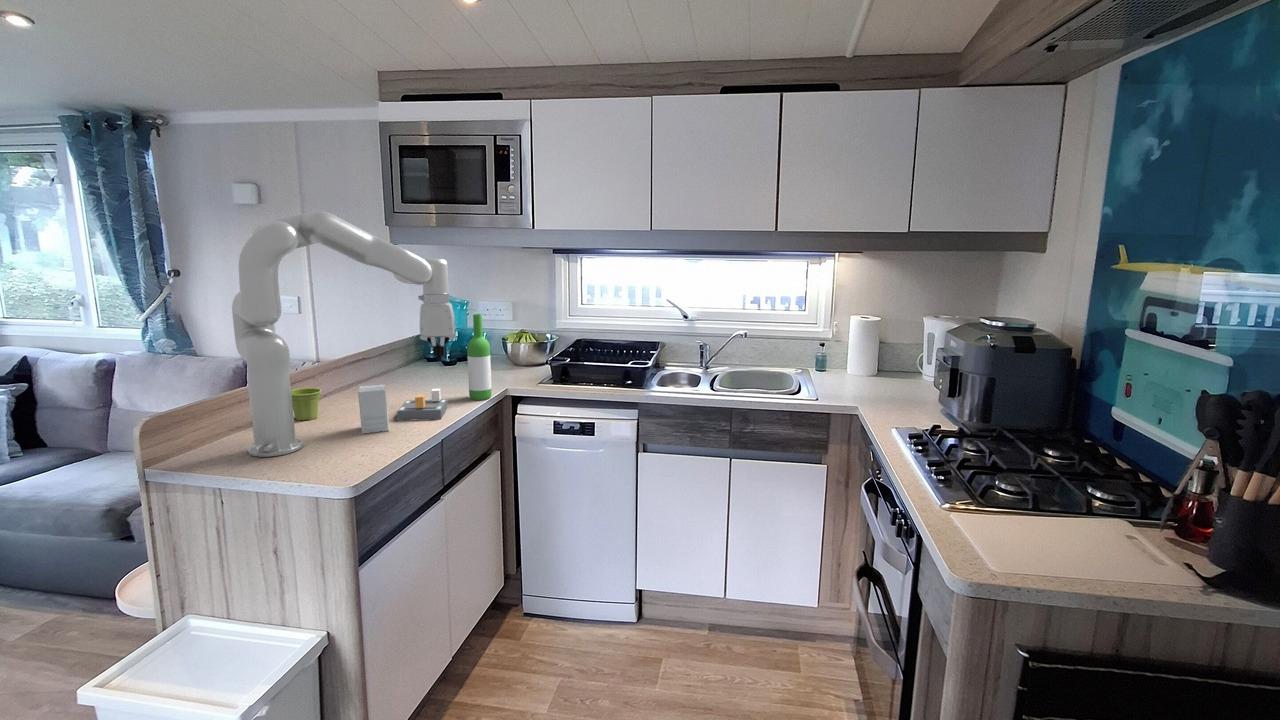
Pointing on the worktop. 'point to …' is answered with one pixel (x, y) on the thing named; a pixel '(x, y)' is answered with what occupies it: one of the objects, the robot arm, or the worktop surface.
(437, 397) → the white slider switch
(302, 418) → the plant pot
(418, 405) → the block
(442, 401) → the slider switch panel
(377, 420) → the supplement box
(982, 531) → the worktop surface
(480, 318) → the wine bottle
